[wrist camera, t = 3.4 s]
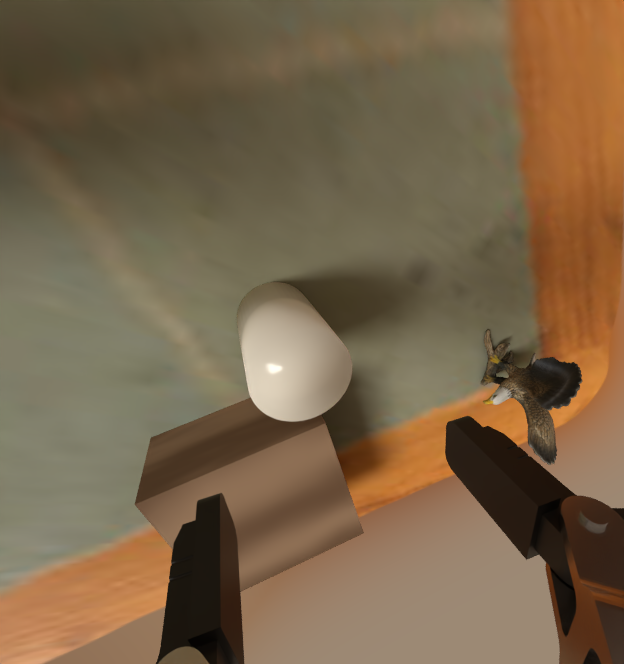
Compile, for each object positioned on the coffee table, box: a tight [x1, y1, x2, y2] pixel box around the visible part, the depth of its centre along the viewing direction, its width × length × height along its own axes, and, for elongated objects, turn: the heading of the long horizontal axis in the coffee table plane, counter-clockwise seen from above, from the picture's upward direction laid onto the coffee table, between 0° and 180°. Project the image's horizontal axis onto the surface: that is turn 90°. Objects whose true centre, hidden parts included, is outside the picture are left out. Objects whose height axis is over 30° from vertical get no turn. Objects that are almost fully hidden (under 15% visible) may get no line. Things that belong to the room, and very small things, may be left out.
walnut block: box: [135, 398, 364, 592], centre depth 25 cm, size 12×12×6 cm
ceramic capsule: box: [237, 282, 352, 422], centre depth 20 cm, size 5×5×8 cm
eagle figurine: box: [481, 330, 582, 465], centre depth 27 cm, size 8×7×9 cm
